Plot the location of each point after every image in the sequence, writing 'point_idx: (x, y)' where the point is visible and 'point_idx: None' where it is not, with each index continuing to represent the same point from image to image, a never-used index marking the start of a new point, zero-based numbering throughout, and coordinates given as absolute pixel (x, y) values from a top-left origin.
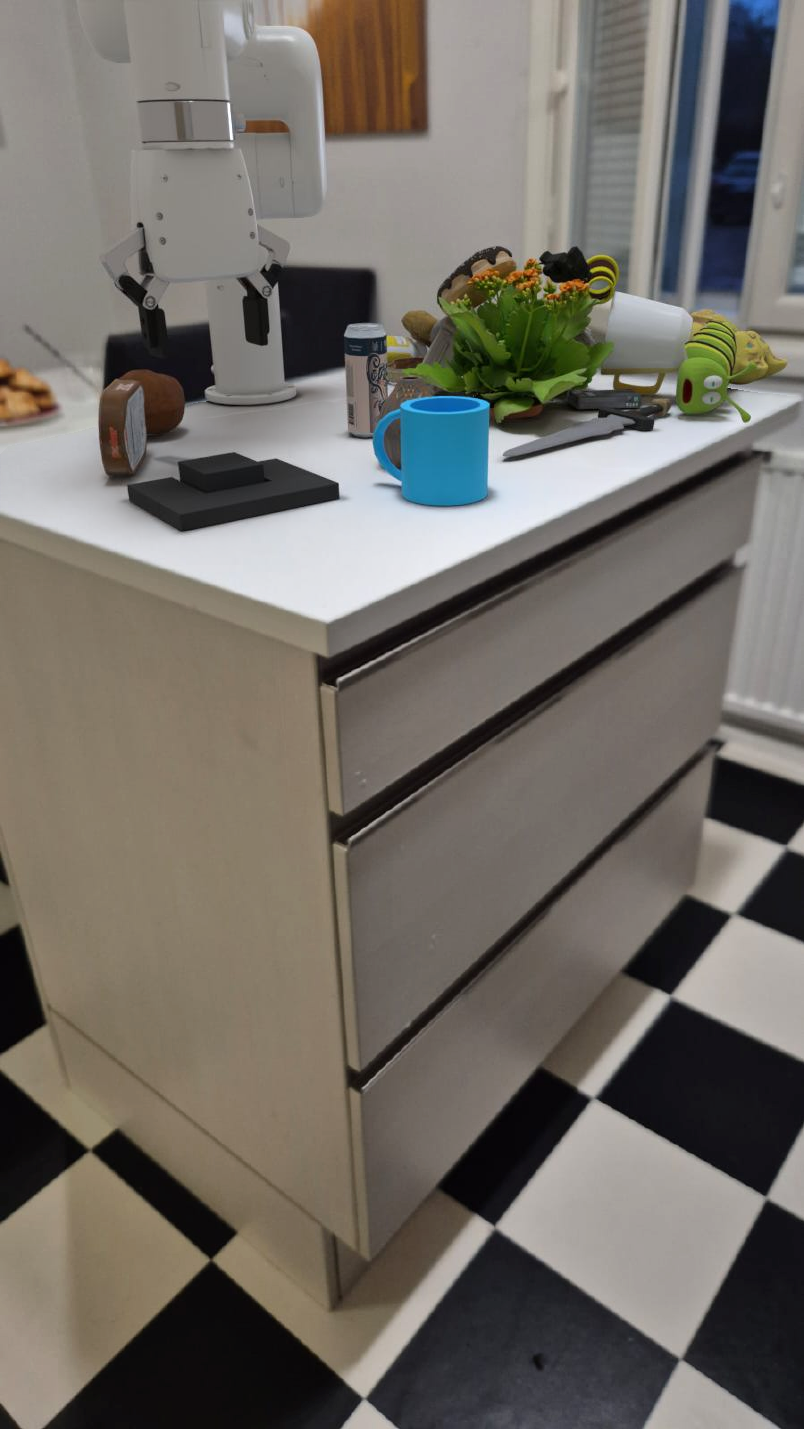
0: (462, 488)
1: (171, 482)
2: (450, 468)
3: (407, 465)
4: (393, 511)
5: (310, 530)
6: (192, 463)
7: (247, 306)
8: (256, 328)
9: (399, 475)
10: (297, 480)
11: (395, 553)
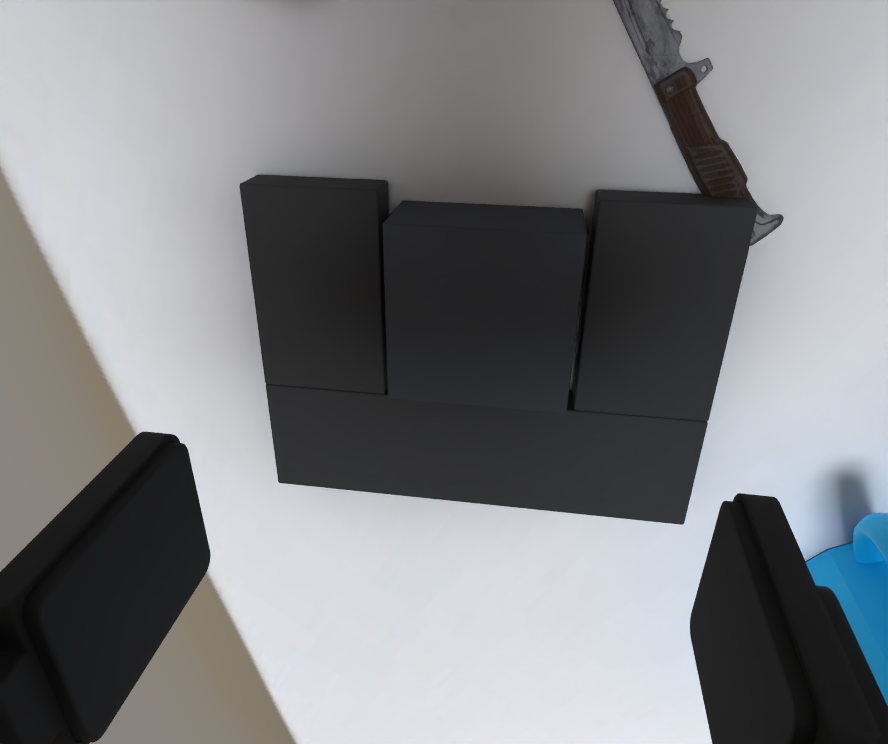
0: None
1: (351, 249)
2: None
3: None
4: None
5: (492, 596)
6: (409, 277)
7: (760, 721)
8: (711, 670)
9: (860, 551)
10: (623, 450)
11: (529, 732)
